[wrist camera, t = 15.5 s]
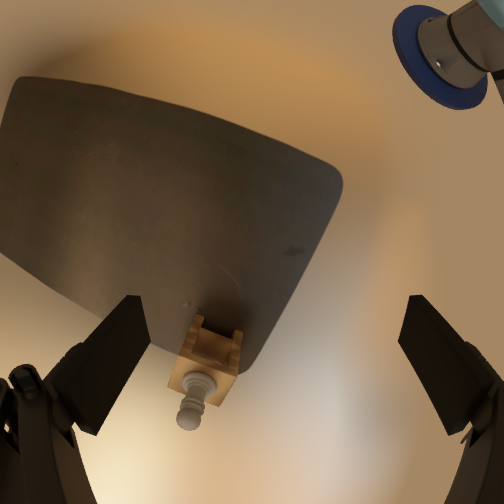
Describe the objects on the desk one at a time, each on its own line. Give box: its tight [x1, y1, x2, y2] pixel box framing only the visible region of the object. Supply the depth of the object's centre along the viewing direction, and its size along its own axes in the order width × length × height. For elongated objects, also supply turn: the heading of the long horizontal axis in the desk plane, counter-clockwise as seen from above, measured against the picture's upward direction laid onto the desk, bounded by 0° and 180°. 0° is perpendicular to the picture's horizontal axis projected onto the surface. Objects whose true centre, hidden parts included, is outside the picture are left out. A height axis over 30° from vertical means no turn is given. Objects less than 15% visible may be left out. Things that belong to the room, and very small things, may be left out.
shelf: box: [167, 314, 243, 406], centre depth 44 cm, size 9×8×12 cm
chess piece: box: [176, 372, 217, 431], centre depth 34 cm, size 5×5×9 cm
